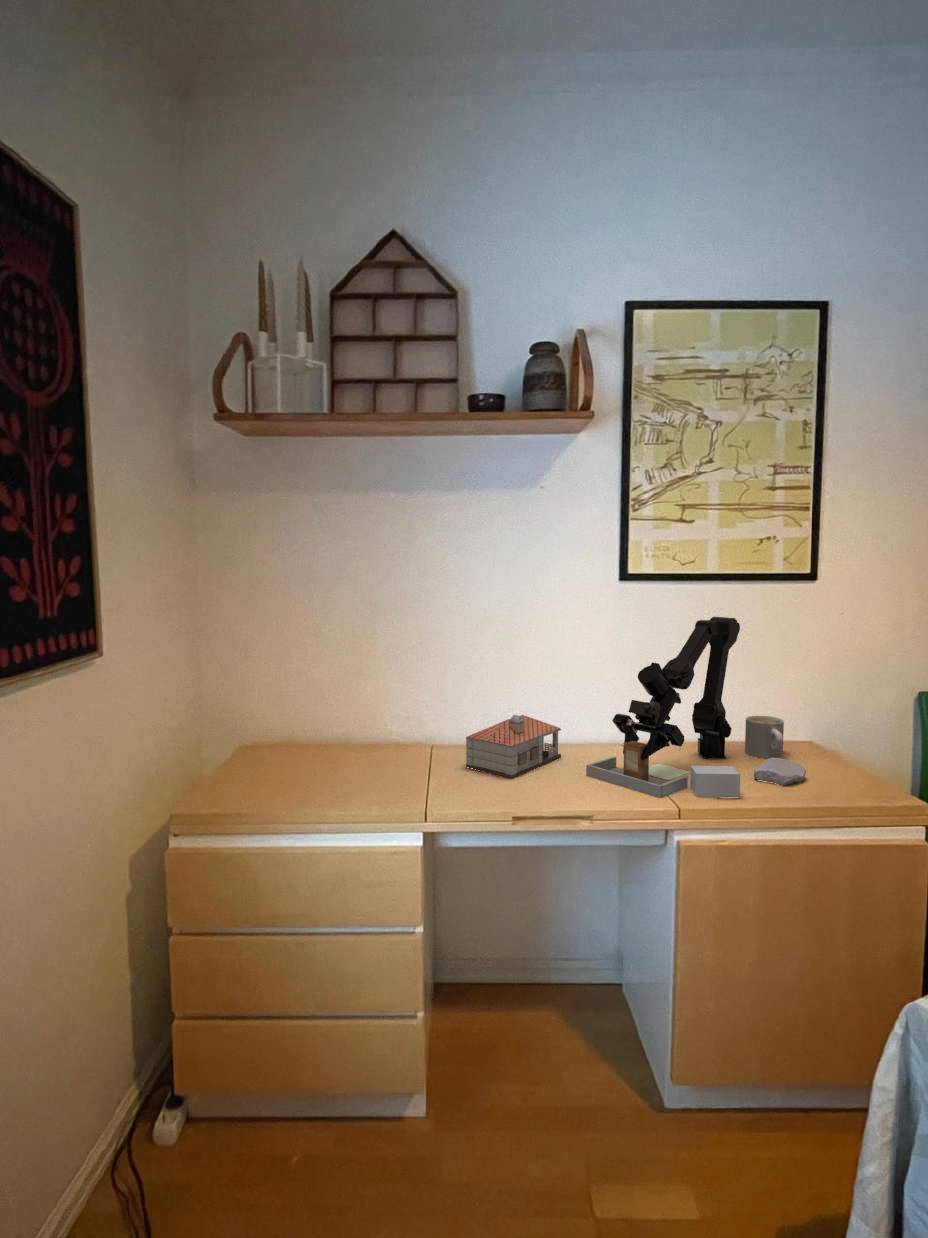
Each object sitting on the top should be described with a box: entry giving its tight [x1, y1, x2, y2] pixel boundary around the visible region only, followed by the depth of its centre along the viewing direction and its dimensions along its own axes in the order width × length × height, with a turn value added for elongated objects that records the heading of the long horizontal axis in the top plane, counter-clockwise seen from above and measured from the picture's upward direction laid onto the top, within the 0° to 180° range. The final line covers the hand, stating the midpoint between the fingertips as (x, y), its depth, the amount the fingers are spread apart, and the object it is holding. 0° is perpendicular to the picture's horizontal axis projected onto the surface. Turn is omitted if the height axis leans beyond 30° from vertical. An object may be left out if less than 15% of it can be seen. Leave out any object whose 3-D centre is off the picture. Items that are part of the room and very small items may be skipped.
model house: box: [465, 714, 562, 780], centre depth 198 cm, size 24×16×15 cm, turn 141°
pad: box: [649, 763, 691, 781], centre depth 188 cm, size 10×10×1 cm
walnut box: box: [623, 741, 650, 782], centre depth 181 cm, size 4×5×10 cm
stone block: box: [753, 757, 807, 786], centre depth 183 cm, size 12×5×10 cm
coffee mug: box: [744, 715, 785, 760], centre depth 202 cm, size 13×10×10 cm
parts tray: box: [585, 756, 689, 799], centre depth 181 cm, size 11×23×3 cm, turn 40°
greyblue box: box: [689, 765, 741, 798], centre depth 172 cm, size 10×6×6 cm, turn 85°
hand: (632, 756), depth 180 cm, fingers closed on walnut box, 5 cm apart
